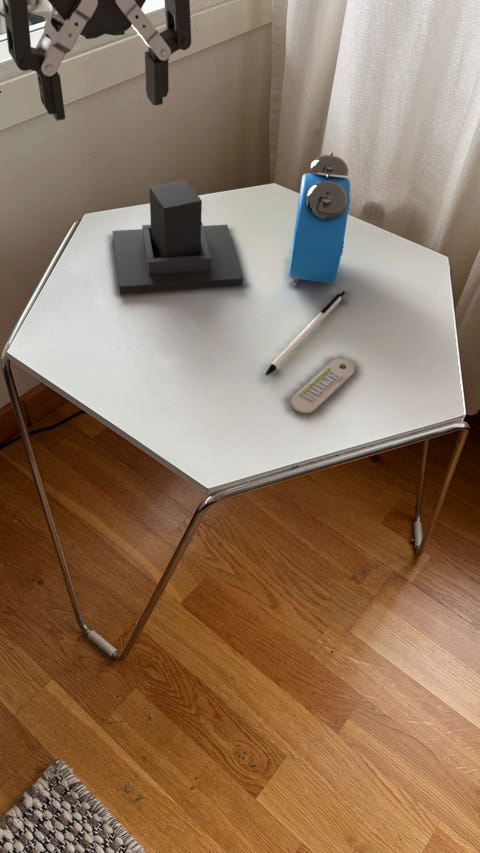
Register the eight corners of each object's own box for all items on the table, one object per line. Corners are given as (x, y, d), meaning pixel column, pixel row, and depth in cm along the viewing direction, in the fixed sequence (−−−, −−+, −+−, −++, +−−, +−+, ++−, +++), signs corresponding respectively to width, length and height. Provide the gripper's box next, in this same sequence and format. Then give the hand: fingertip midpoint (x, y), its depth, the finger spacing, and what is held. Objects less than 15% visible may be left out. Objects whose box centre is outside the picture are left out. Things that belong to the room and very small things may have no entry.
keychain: (339, 352, 85) (359, 365, 84) (338, 356, 86) (359, 368, 84) (286, 400, 80) (307, 414, 79) (285, 403, 80) (306, 417, 79)
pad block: (165, 268, 92) (164, 208, 86) (151, 246, 95) (149, 186, 88) (200, 260, 94) (202, 200, 87) (185, 239, 97) (186, 179, 90)
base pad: (119, 294, 90) (118, 274, 88) (113, 237, 98) (111, 218, 95) (242, 285, 93) (244, 266, 91) (226, 231, 101) (228, 212, 98)
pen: (346, 296, 93) (348, 289, 92) (268, 380, 82) (269, 373, 81) (340, 293, 93) (342, 286, 92) (261, 376, 83) (262, 369, 82)
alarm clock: (292, 240, 100) (307, 139, 89) (336, 245, 100) (356, 145, 89) (285, 299, 92) (300, 196, 80) (332, 305, 92) (354, 203, 80)
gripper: (-6, -107, 43) (36, 144, 56) (208, -118, 48) (202, 116, 60) (-32, -140, 47) (12, 100, 60) (166, -147, 52) (169, 77, 64)
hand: (107, 108), depth 60 cm, fingers open, 8 cm apart
